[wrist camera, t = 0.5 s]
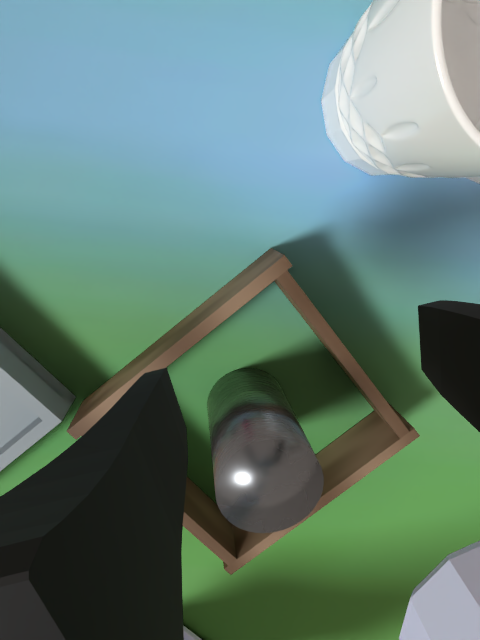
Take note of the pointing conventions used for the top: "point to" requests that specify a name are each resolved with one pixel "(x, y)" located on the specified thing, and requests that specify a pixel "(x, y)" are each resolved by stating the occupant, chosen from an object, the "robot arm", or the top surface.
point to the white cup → (408, 90)
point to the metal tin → (260, 454)
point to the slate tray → (26, 400)
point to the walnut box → (336, 459)
